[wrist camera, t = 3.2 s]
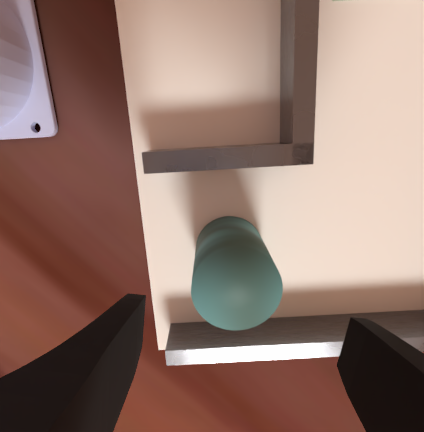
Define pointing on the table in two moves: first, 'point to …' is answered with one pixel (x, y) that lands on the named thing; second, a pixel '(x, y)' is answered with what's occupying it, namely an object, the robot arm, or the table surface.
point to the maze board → (270, 133)
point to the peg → (234, 275)
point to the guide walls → (270, 157)
